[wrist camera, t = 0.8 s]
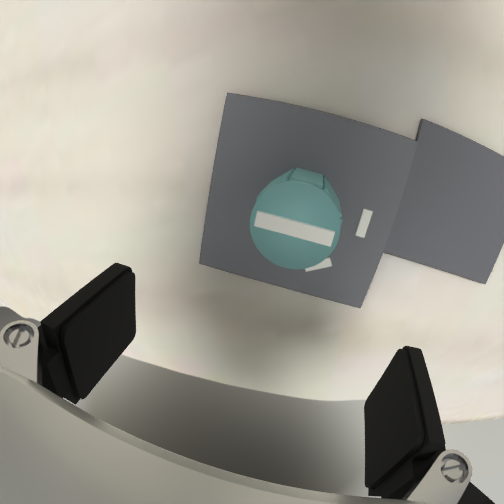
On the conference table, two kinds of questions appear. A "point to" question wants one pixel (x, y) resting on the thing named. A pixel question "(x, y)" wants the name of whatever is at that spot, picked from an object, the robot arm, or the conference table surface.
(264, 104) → the post plate
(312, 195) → the cap
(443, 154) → the mat
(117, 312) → the robot arm
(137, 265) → the conference table surface
